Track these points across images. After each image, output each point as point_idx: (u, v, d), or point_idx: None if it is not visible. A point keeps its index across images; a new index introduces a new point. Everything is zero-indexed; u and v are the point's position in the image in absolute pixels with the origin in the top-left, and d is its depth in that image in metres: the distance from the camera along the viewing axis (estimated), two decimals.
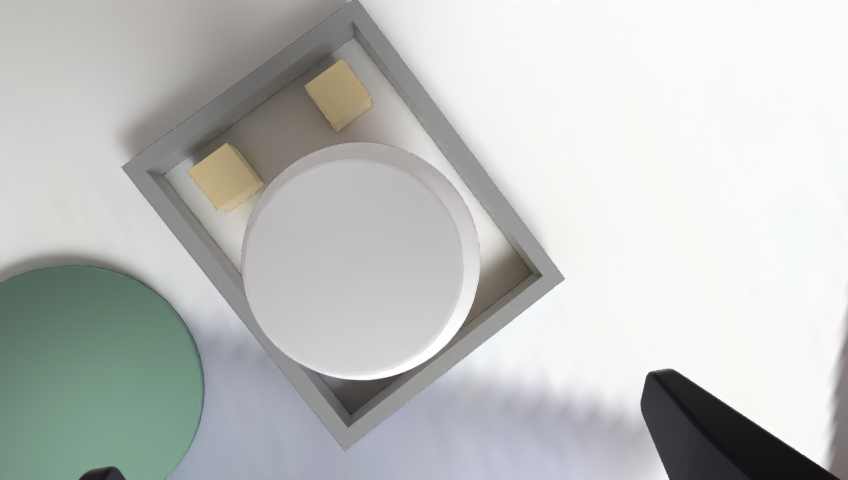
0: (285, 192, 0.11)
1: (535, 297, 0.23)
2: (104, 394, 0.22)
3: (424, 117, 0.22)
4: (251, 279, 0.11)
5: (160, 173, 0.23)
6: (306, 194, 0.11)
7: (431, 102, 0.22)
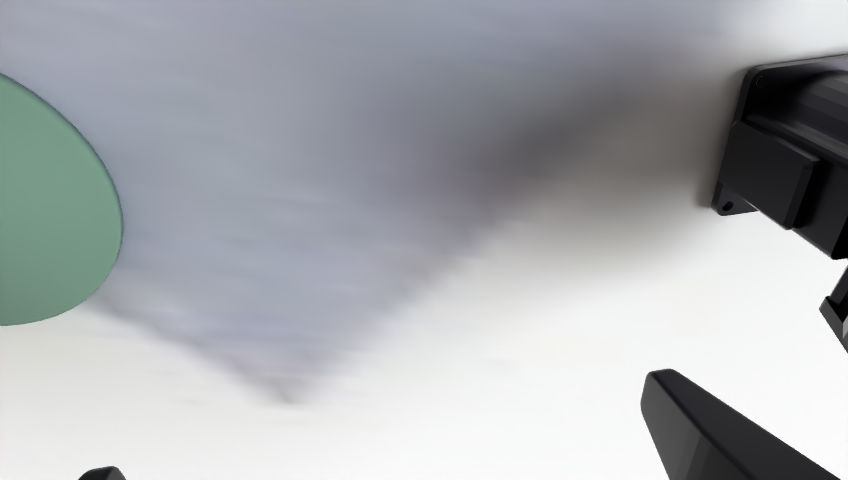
0: None
1: None
2: None
3: None
4: None
5: None
6: None
7: None
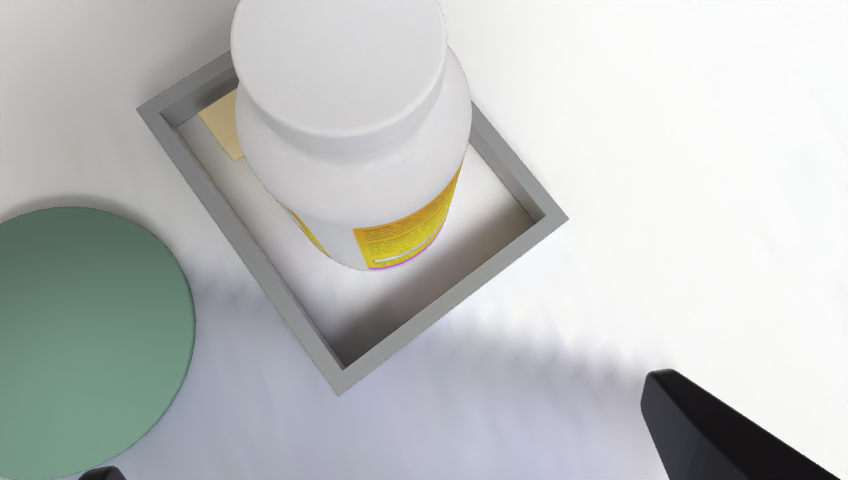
0: None
1: (539, 237, 0.22)
2: (91, 336, 0.21)
3: None
4: (238, 41, 0.11)
5: (172, 123, 0.24)
6: None
7: None
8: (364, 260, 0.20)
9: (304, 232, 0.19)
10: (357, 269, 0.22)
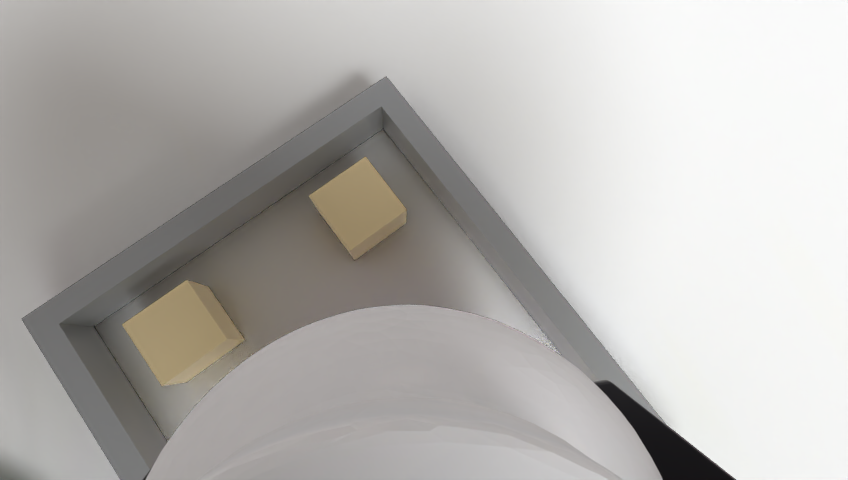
0: None
1: None
2: None
3: (486, 239, 0.15)
4: None
5: (88, 324, 0.15)
6: None
7: (496, 217, 0.15)
8: None
9: None
10: None
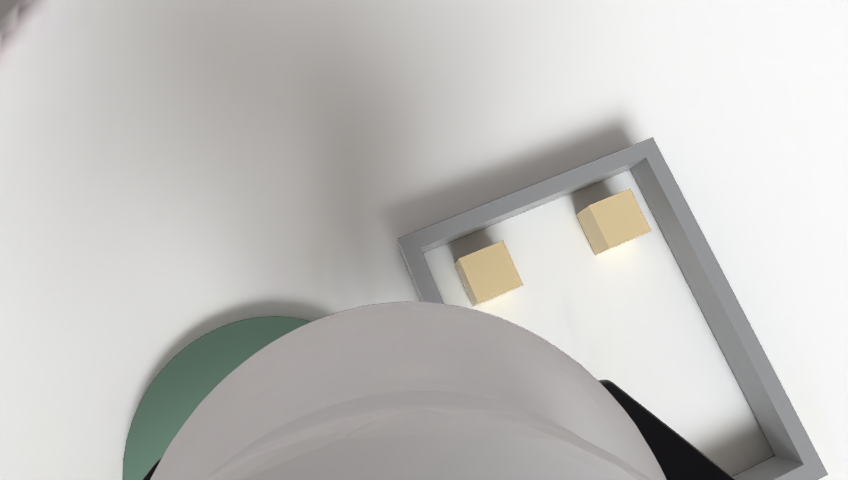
0: None
1: None
2: None
3: (699, 263, 0.22)
4: None
5: None
6: None
7: (709, 251, 0.22)
8: None
9: None
10: None
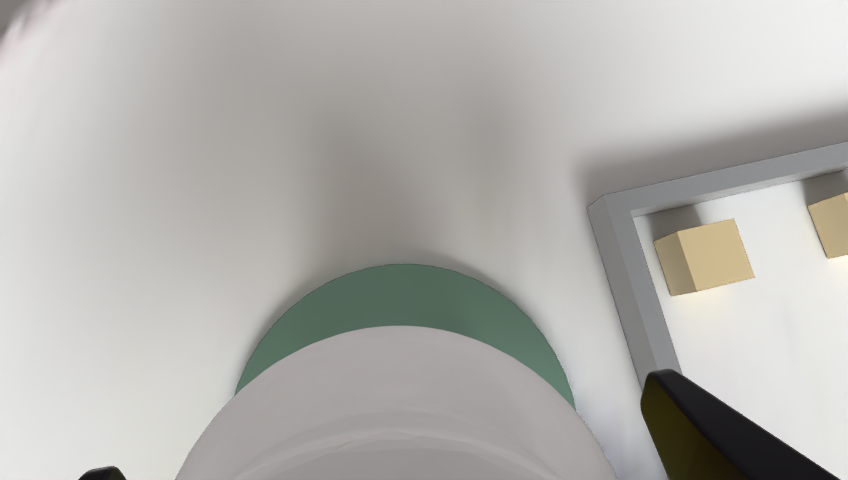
0: None
1: None
2: None
3: None
4: None
5: None
6: None
7: None
8: None
9: None
10: None
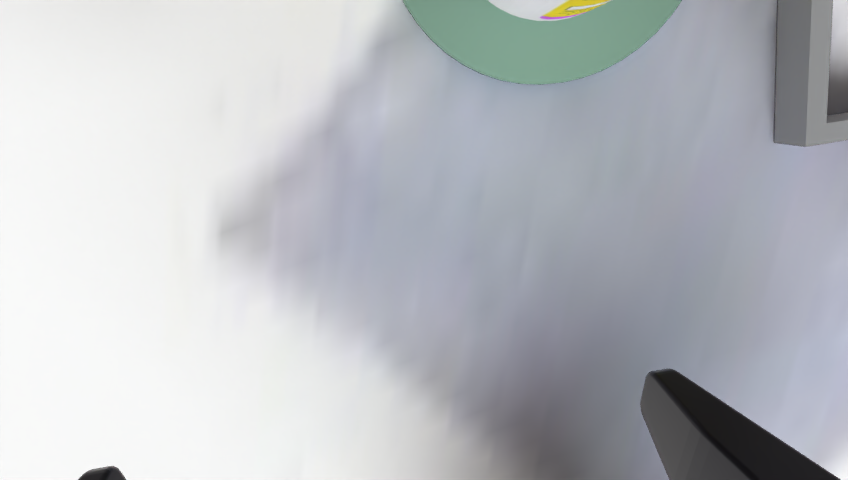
0: None
1: None
2: None
3: None
4: None
5: None
6: None
7: None
8: (558, 6, 0.14)
9: None
10: (520, 16, 0.17)
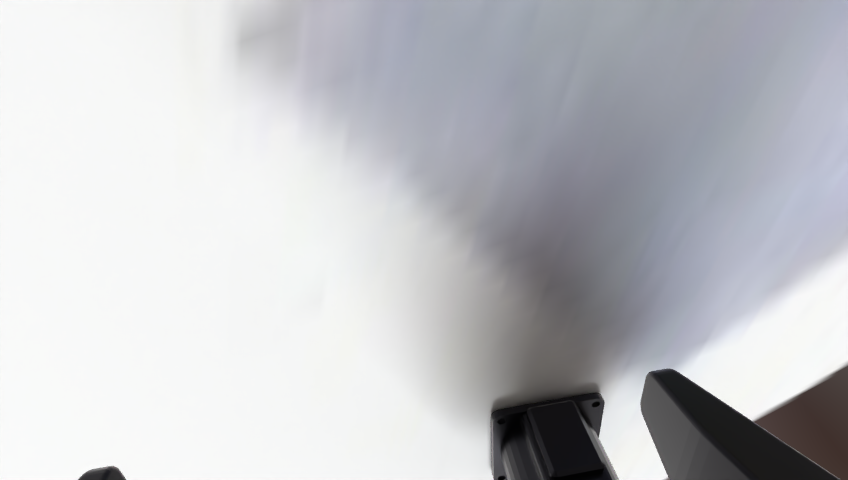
0: None
1: None
2: None
3: None
4: None
5: None
6: None
7: None
8: None
9: None
10: None
